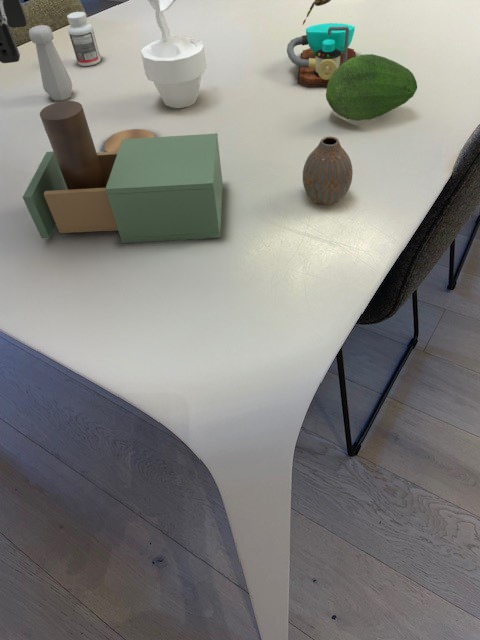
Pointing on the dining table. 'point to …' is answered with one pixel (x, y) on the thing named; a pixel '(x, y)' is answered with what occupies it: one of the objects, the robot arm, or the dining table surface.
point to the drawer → (68, 200)
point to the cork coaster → (116, 139)
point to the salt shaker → (50, 64)
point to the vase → (327, 172)
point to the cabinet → (167, 188)
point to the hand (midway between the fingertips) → (15, 42)
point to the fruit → (369, 87)
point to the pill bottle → (83, 39)
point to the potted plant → (174, 62)
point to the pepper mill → (73, 145)
